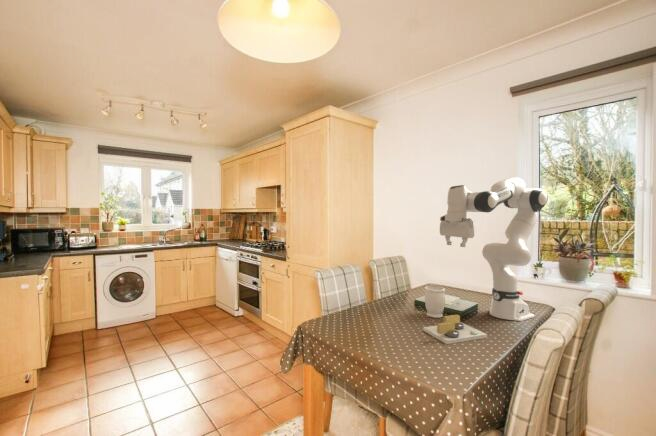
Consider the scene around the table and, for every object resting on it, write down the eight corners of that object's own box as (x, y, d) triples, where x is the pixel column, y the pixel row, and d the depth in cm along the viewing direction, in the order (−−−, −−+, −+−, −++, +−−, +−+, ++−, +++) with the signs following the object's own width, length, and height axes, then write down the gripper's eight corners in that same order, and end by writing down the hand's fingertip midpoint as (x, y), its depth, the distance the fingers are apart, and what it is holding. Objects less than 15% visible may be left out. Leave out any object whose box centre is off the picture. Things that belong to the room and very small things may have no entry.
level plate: (460, 325, 150) (460, 320, 150) (487, 337, 135) (487, 332, 135) (423, 330, 143) (423, 325, 143) (446, 344, 128) (446, 339, 128)
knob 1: (457, 324, 147) (457, 312, 147) (466, 328, 141) (466, 316, 141) (440, 326, 144) (440, 314, 144) (448, 331, 138) (449, 319, 138)
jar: (446, 319, 158) (446, 290, 158) (425, 318, 160) (426, 289, 160) (443, 313, 169) (443, 286, 168) (423, 311, 171) (423, 285, 170)
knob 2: (452, 331, 138) (452, 319, 137) (462, 336, 132) (462, 324, 132) (433, 334, 134) (433, 321, 134) (443, 339, 129) (443, 326, 129)
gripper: (478, 218, 141) (477, 248, 141) (447, 217, 160) (447, 244, 161) (467, 218, 139) (466, 248, 139) (437, 217, 158) (437, 244, 159)
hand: (455, 246), depth 150 cm, fingers open, 8 cm apart
